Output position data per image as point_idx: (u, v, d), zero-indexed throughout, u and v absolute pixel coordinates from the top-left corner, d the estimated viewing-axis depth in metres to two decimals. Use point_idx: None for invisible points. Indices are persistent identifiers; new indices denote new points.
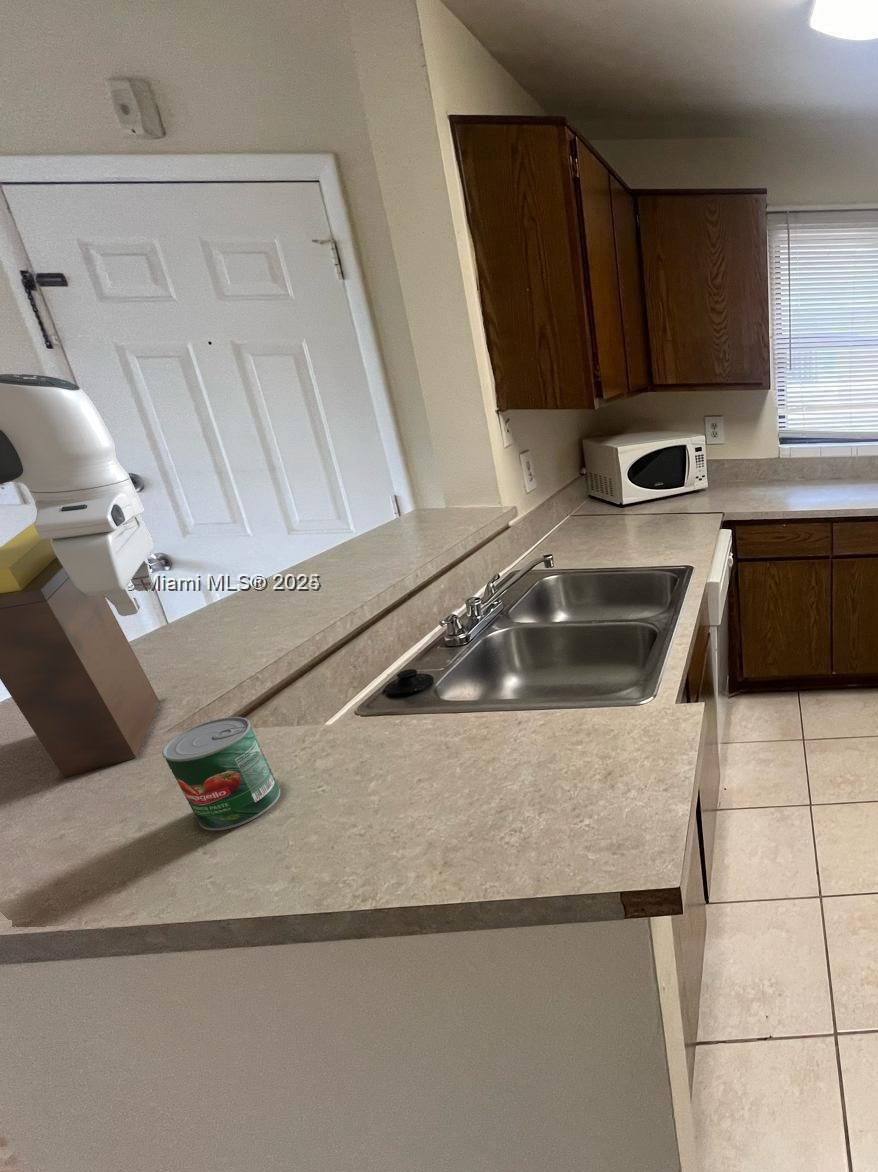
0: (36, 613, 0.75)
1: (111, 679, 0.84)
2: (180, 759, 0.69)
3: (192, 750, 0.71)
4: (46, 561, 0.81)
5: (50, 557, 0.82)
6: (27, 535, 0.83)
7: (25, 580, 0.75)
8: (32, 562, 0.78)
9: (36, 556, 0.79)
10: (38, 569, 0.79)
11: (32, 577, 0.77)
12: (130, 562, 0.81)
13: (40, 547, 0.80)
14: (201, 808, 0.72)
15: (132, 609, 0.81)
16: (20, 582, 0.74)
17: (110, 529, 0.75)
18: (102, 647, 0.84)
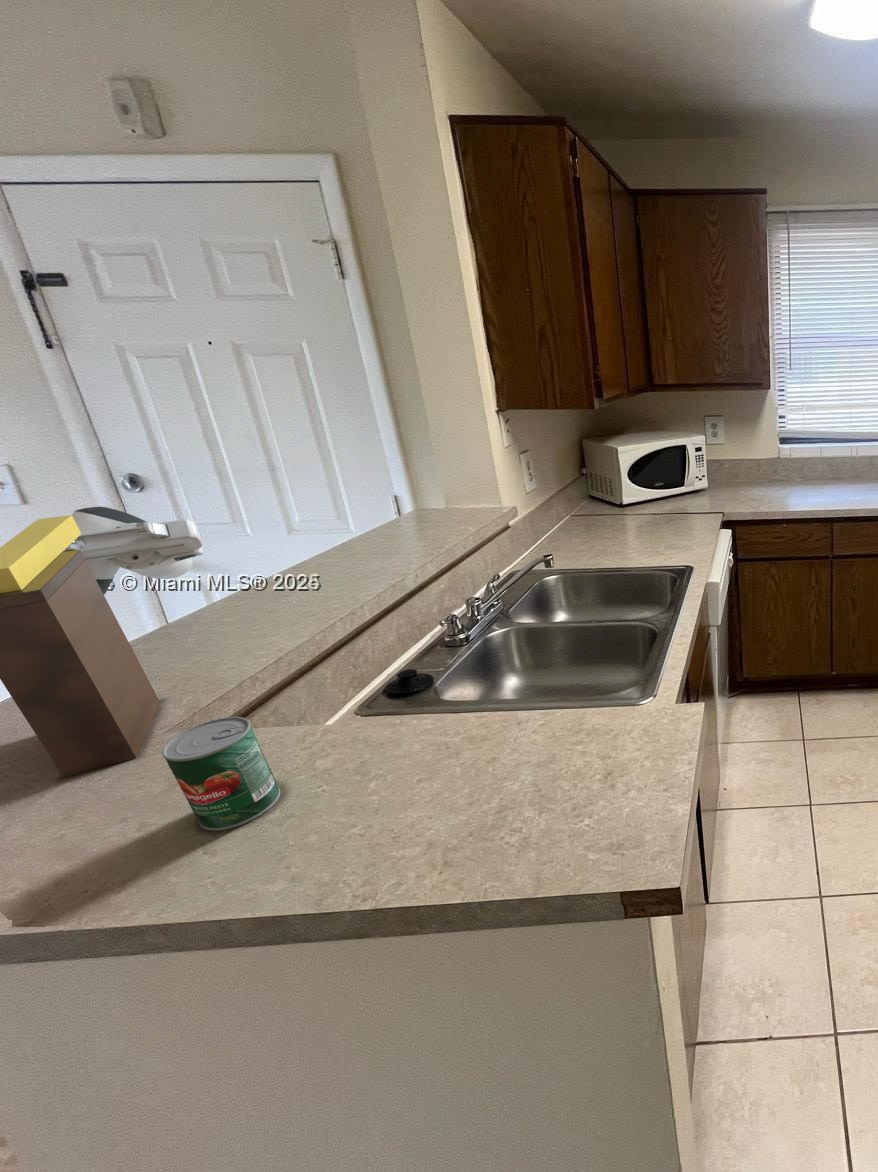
0: (36, 613, 0.75)
1: (111, 679, 0.84)
2: (180, 759, 0.69)
3: (192, 750, 0.71)
4: (46, 561, 0.81)
5: (50, 557, 0.82)
6: (27, 535, 0.83)
7: (25, 580, 0.75)
8: (32, 562, 0.78)
9: (36, 556, 0.79)
10: (38, 569, 0.79)
11: (32, 577, 0.77)
12: (150, 545, 1.10)
13: (40, 547, 0.80)
14: (201, 808, 0.72)
15: (150, 529, 1.06)
16: (20, 582, 0.74)
17: (200, 551, 1.18)
18: (102, 647, 0.84)
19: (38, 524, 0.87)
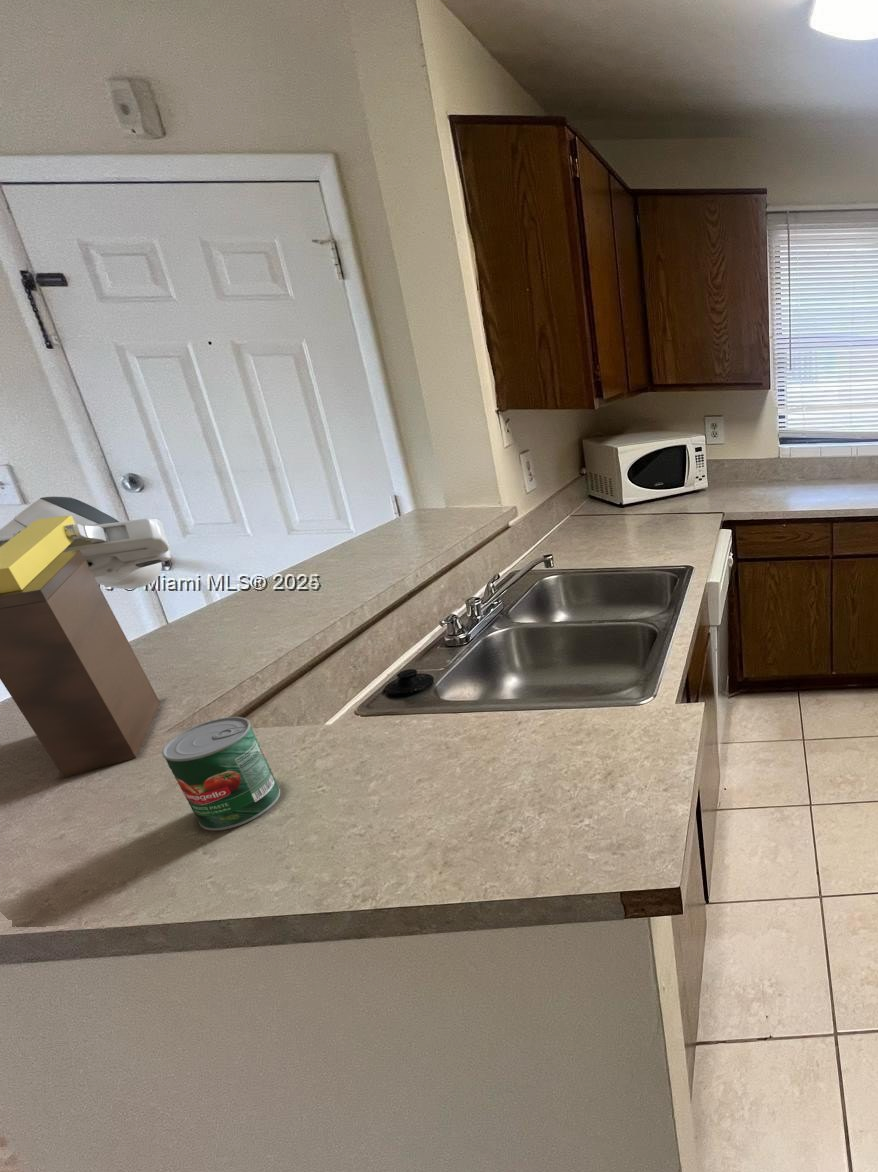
0: (36, 613, 0.75)
1: (111, 679, 0.84)
2: (180, 759, 0.69)
3: (192, 750, 0.71)
4: (46, 561, 0.81)
5: (50, 557, 0.82)
6: (27, 535, 0.83)
7: (25, 580, 0.75)
8: (32, 562, 0.78)
9: (35, 556, 0.79)
10: (38, 569, 0.79)
11: (32, 577, 0.77)
12: (106, 549, 0.94)
13: (40, 547, 0.80)
14: (201, 808, 0.72)
15: (82, 533, 0.89)
16: (20, 582, 0.74)
17: (166, 556, 1.02)
18: (102, 647, 0.84)
19: (37, 524, 0.87)
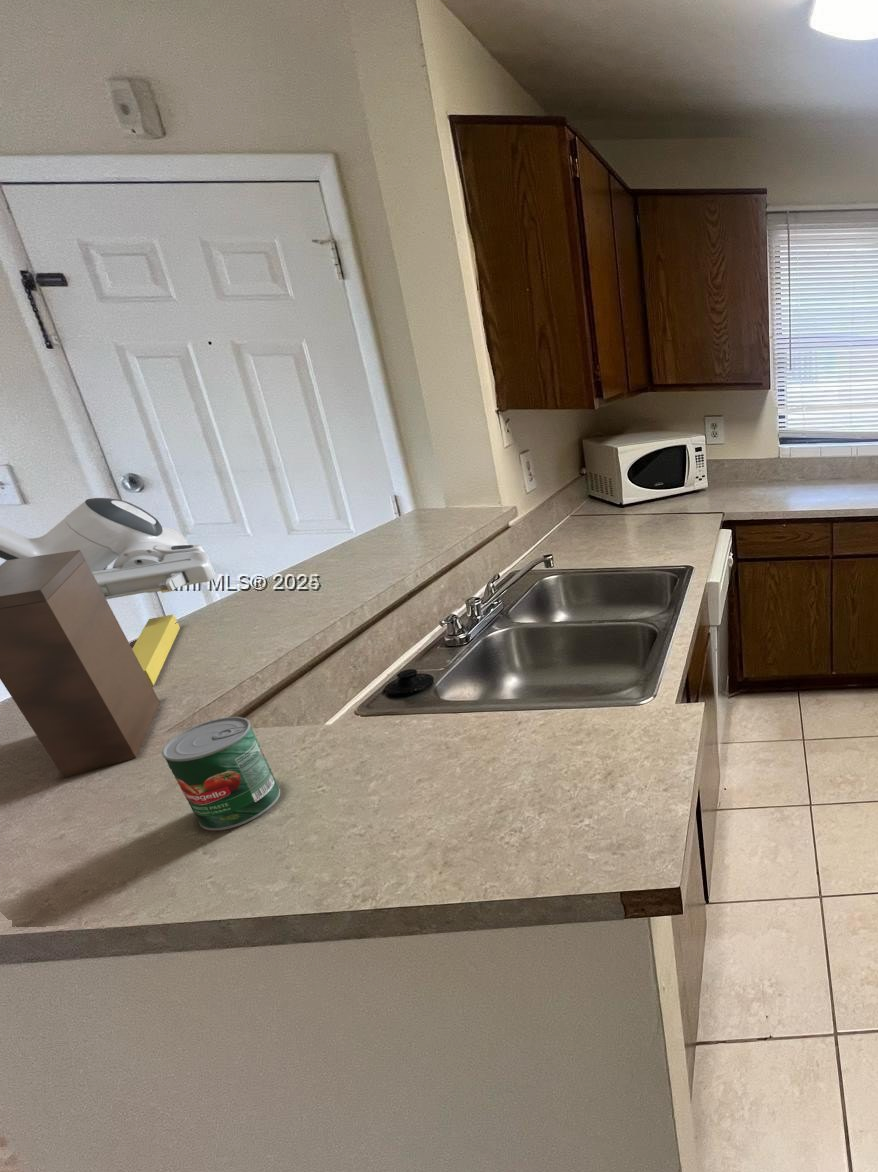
0: (36, 613, 0.75)
1: (111, 679, 0.84)
2: (180, 759, 0.69)
3: (192, 750, 0.71)
4: (163, 658, 1.08)
5: (165, 653, 1.09)
6: (147, 636, 1.10)
7: (155, 676, 1.02)
8: (156, 661, 1.05)
9: (158, 656, 1.06)
10: (160, 666, 1.05)
11: (158, 673, 1.04)
12: None
13: (160, 647, 1.07)
14: (201, 808, 0.72)
15: (172, 588, 1.10)
16: (152, 679, 1.01)
17: None
18: (102, 647, 0.84)
19: (151, 624, 1.14)
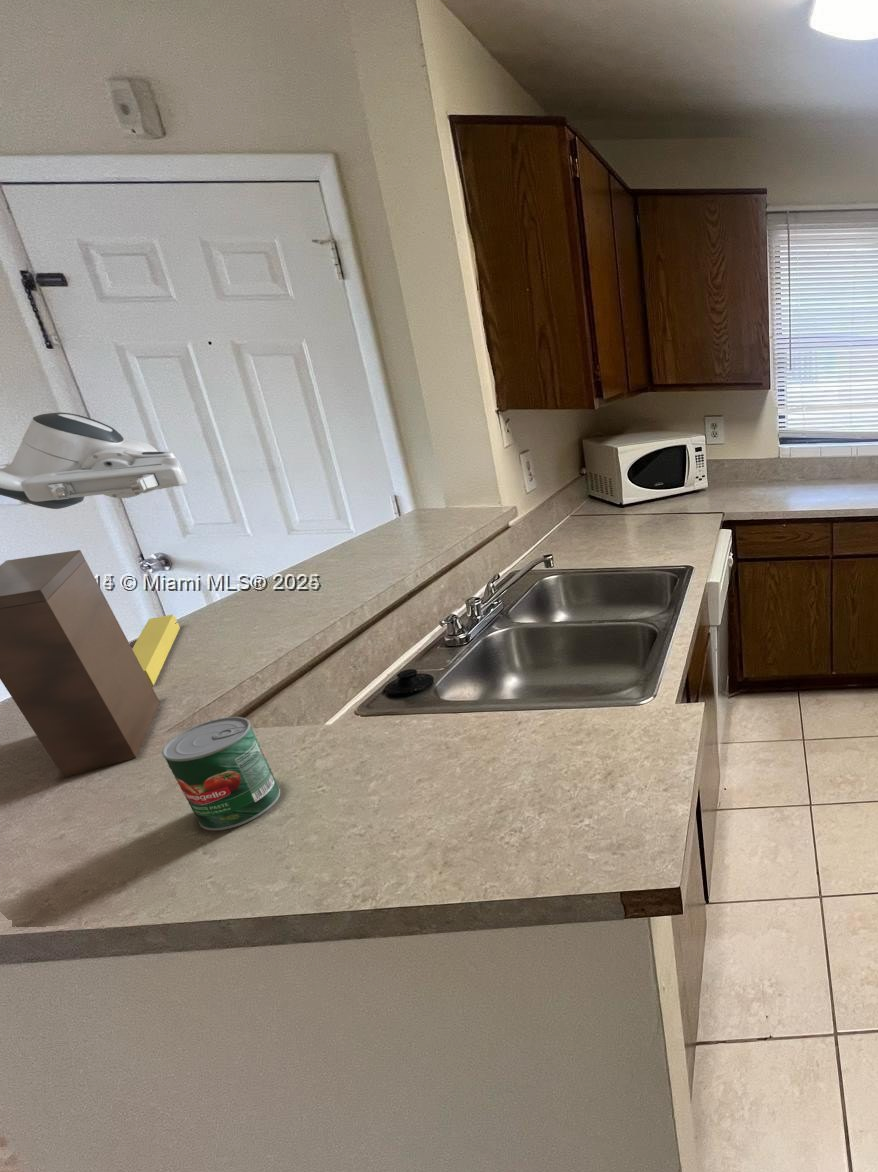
0: (36, 613, 0.75)
1: (111, 679, 0.84)
2: (180, 759, 0.69)
3: (192, 750, 0.71)
4: (163, 658, 1.08)
5: (165, 653, 1.09)
6: (147, 636, 1.10)
7: (155, 676, 1.02)
8: (156, 661, 1.05)
9: (158, 656, 1.06)
10: (160, 666, 1.05)
11: (158, 673, 1.04)
12: None
13: (160, 647, 1.07)
14: (201, 808, 0.72)
15: (144, 487, 1.09)
16: (152, 679, 1.01)
17: None
18: (102, 647, 0.84)
19: (151, 624, 1.14)
